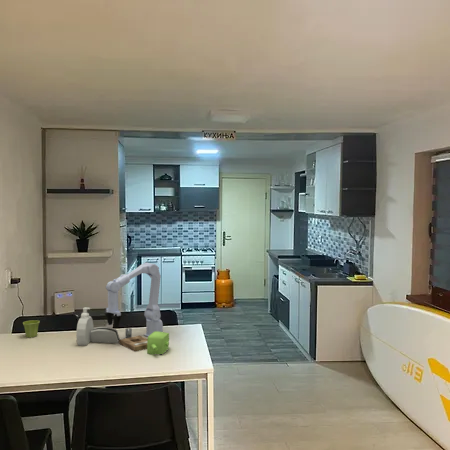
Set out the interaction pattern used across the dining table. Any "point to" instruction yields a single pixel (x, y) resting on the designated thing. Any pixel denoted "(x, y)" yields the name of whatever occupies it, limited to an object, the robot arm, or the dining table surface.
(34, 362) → the dining table surface
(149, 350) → the gearbox
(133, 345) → the jig
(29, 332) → the plant pot
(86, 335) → the soap bottle
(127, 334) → the mottled grey cylinder
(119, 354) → the dining table surface
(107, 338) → the grey rounded piece
